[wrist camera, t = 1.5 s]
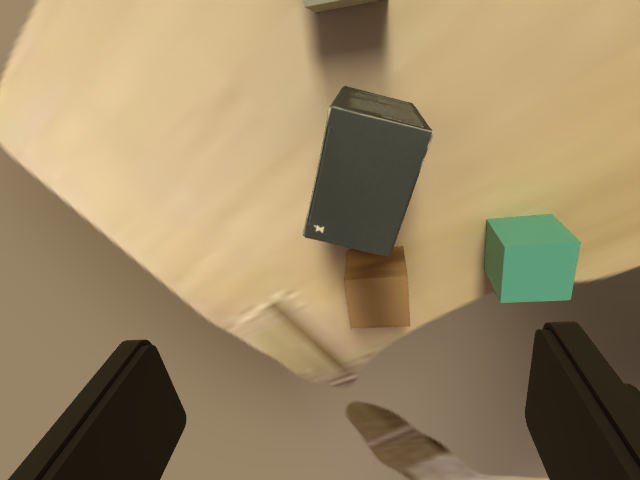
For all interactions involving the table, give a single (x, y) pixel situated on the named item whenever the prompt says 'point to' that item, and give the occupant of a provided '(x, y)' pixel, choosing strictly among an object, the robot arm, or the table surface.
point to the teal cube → (530, 258)
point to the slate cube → (332, 4)
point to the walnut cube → (377, 289)
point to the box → (366, 171)
